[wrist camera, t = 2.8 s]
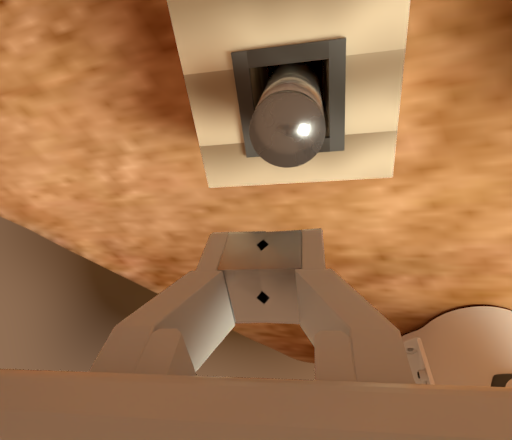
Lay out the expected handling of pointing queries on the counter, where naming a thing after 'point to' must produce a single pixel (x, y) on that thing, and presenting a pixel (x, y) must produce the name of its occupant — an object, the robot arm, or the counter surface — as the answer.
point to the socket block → (284, 52)
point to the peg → (289, 117)
